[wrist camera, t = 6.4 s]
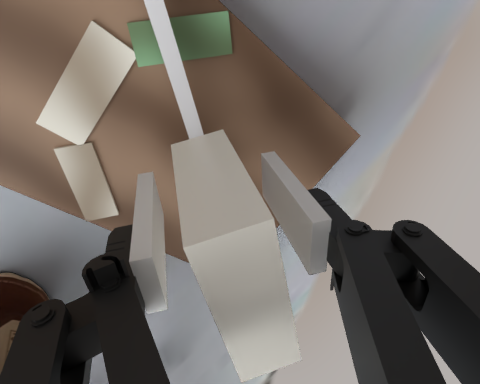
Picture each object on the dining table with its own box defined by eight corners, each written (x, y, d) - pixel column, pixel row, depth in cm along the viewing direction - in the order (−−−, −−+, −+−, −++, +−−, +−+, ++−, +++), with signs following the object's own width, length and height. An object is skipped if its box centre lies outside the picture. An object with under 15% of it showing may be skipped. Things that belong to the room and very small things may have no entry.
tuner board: (223, 258, 27) (229, 281, 25) (-253, 45, 14) (-331, 52, 12) (342, 124, 23) (362, 136, 21) (-168, -354, 10) (-261, -459, 8)
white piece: (201, 212, 21) (241, 383, 11) (127, 3, 14) (70, -11, 5) (235, 201, 21) (301, 360, 12) (177, -10, 14) (221, -49, 5)
